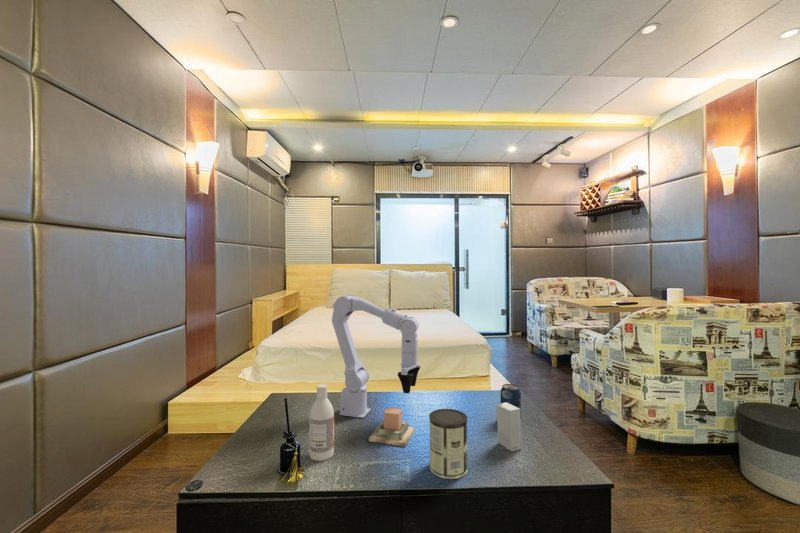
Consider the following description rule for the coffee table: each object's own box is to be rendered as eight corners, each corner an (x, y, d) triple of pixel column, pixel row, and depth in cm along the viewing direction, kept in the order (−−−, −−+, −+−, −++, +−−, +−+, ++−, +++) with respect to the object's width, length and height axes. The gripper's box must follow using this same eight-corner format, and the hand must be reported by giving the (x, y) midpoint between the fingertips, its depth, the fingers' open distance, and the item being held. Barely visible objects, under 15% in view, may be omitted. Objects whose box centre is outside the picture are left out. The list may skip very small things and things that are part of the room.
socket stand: (368, 441, 108) (368, 431, 108) (380, 425, 118) (380, 417, 118) (405, 446, 104) (405, 436, 104) (414, 430, 115) (414, 421, 115)
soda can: (509, 426, 118) (509, 391, 119) (496, 418, 125) (496, 384, 125) (525, 422, 121) (525, 388, 121) (511, 414, 128) (511, 382, 128)
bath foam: (335, 459, 98) (336, 388, 98) (310, 463, 95) (310, 391, 95) (331, 447, 104) (332, 380, 104) (308, 451, 102) (308, 383, 102)
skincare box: (522, 449, 103) (522, 408, 103) (510, 452, 101) (510, 411, 101) (507, 439, 109) (507, 401, 109) (496, 443, 107) (496, 403, 107)
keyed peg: (383, 434, 110) (383, 412, 110) (387, 428, 114) (387, 407, 114) (398, 436, 109) (398, 414, 109) (401, 430, 113) (402, 409, 113)
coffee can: (446, 453, 101) (446, 405, 101) (475, 469, 93) (475, 416, 93) (421, 467, 94) (421, 415, 94) (450, 485, 86) (450, 428, 86)
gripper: (415, 357, 117) (415, 397, 116) (424, 348, 130) (424, 383, 130) (395, 355, 119) (395, 395, 119) (406, 346, 133) (406, 382, 132)
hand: (409, 389), depth 125 cm, fingers open, 7 cm apart
